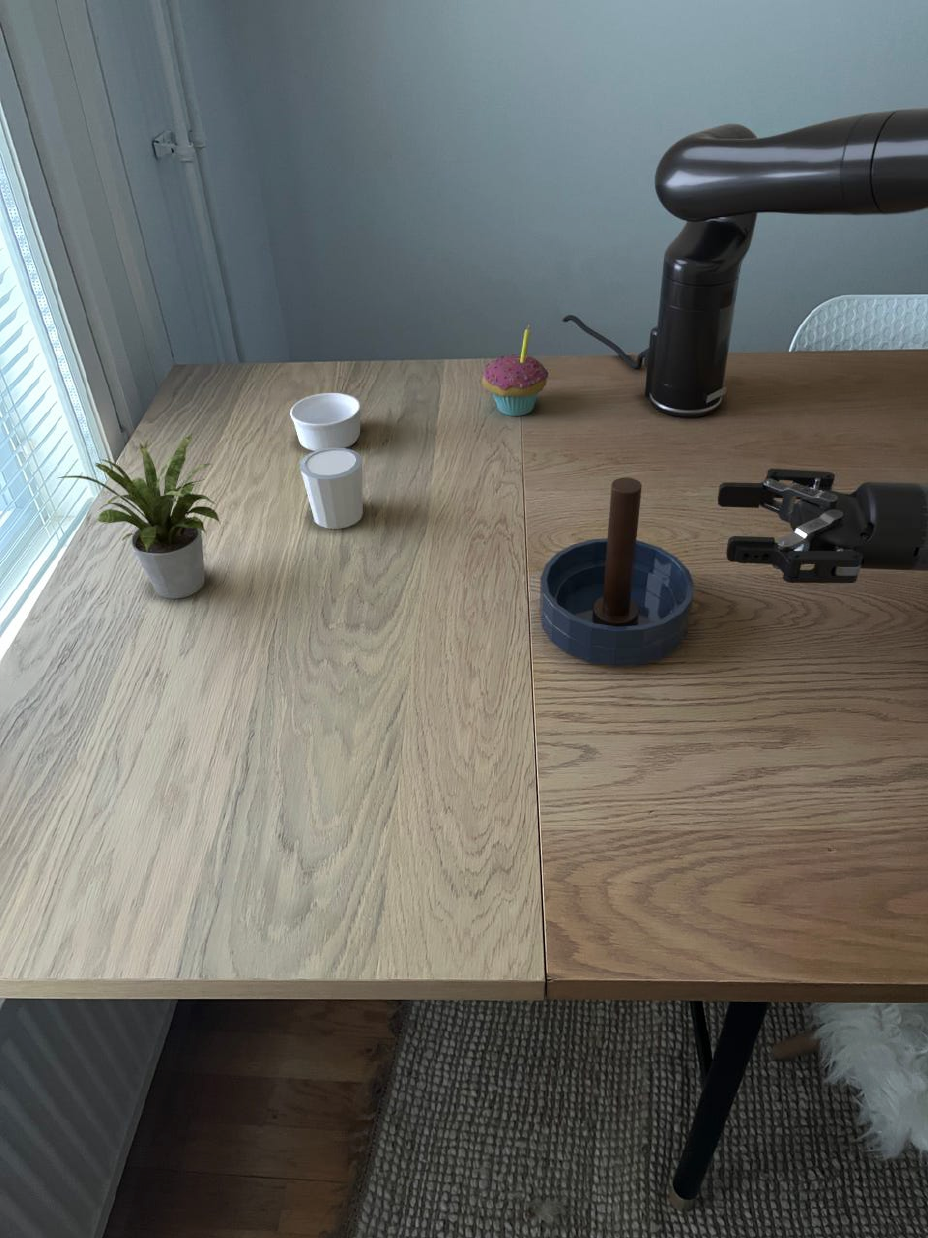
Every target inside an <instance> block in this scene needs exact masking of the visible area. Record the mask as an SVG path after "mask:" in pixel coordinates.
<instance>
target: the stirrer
mask: <svg viewBox="0 0 928 1238" xmlns="http://www.w3.org/2000/svg"><path fill="white" fill-rule="evenodd" d="M642 486H643V485H642V483H641V481H640V480H638V479H636V478H633V477H618V478H616V479H613V481H612V482H611V485H610V499H609V512H608V527H607V538H608V539H607V552H606V566H605V579H604V593H603V596H602V597H600V598H599V599H597V600H596V601H595V603H594V605H593V615H592V617H593V620H594V622H595V623H596V624H603V625H610V626H617V627H620V626H635V625H636V624H637V622H638V616H639V607H638V605H637V603H636V602H635V601H634V600H633V599H631V590H632V580H633V570H634V560H635V550H636V540H638V539H637V537H638V529H639V528H638V527H639V518H640V510H641V509H640V507H641V498H642Z"/></svg>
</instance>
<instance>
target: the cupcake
mask: <svg viewBox="0 0 928 1238" xmlns="http://www.w3.org/2000/svg"><path fill="white" fill-rule="evenodd" d="M530 328H531V323H529V324H528V326H527V328H526V329H525V330H524V334H523V339H522V340H523V341H522V348H521V353H520V354H508V355H505V354H504V355H501V356H498V357H496V358H495V359H493V360H492V361H490V362H489V363H487V365H485V366H484V367H485V368H484V370H483V372H482V373H483V375H482V386H483V388H484V389H485V390H486V391H488V392H490V393H491V394H492V396H493V398H494V401H495V404H496V407H497V410H498V411H499V412H500V413H501V414H503V415H505V416H511V417H521V416H524V415H528V414H530V413H531V412H533V409H534V407H535V404H536V400H537V398H538V395H539V394H540V392H542V391H543V390H544V388H545V386H546V385H547V381H548V380H547V379H548V378H549V371H548V370H547V369H546V368H545V367H544V364H542V362H541V361H539V360H538V359H536V358H535V357H532V356H529V355H527V353H528V347H529V341H530V335H531V329H530Z"/></svg>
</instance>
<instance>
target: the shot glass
mask: <svg viewBox="0 0 928 1238" xmlns="http://www.w3.org/2000/svg"><path fill="white" fill-rule="evenodd" d="M299 468H300V473H301V476H302V479H303V483H304V487H305V490H306V491H305V492H306V494H307V497H308V501H309V505H310V509H311V512H312V516H313V520H314V523H316V524H317V525H318V526H319V527H321V528H325V529H327V530H328V529H329V530H340V529H346V528H349V527H351V526H354V525H355V524H357V523H358V522H359V521H360V520H361V519H362V517H363V515H364V505H363V504H364V503H363V459H362V456H361V455H360V454H359V453H358V452H356V451H355V450H353V449H350V448H334V447H332V448H326V449H320V450H317V451H312V452H310V453H309V454H307V455H306V456H304V457H303V458H302V459H301V460H300V463H299Z"/></svg>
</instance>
